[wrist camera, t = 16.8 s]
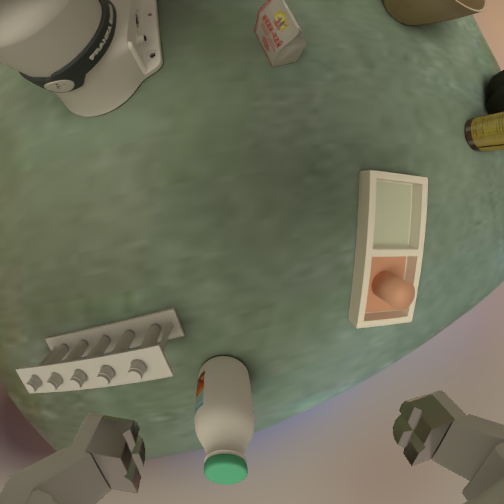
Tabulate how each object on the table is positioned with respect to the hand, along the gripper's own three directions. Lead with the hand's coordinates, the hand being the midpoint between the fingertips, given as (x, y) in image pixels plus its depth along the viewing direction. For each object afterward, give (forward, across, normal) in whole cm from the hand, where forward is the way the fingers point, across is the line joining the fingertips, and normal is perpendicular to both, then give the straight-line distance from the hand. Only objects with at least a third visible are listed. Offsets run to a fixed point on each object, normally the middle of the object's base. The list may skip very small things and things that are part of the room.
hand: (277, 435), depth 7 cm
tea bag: (+33, -5, -28) cm, 44 cm away
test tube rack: (+33, +20, +15) cm, 42 cm away
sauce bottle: (+33, -42, -20) cm, 57 cm away
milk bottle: (+33, +2, +21) cm, 39 cm away
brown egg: (+32, -22, +6) cm, 39 cm away
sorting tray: (+33, -22, +1) cm, 40 cm away
